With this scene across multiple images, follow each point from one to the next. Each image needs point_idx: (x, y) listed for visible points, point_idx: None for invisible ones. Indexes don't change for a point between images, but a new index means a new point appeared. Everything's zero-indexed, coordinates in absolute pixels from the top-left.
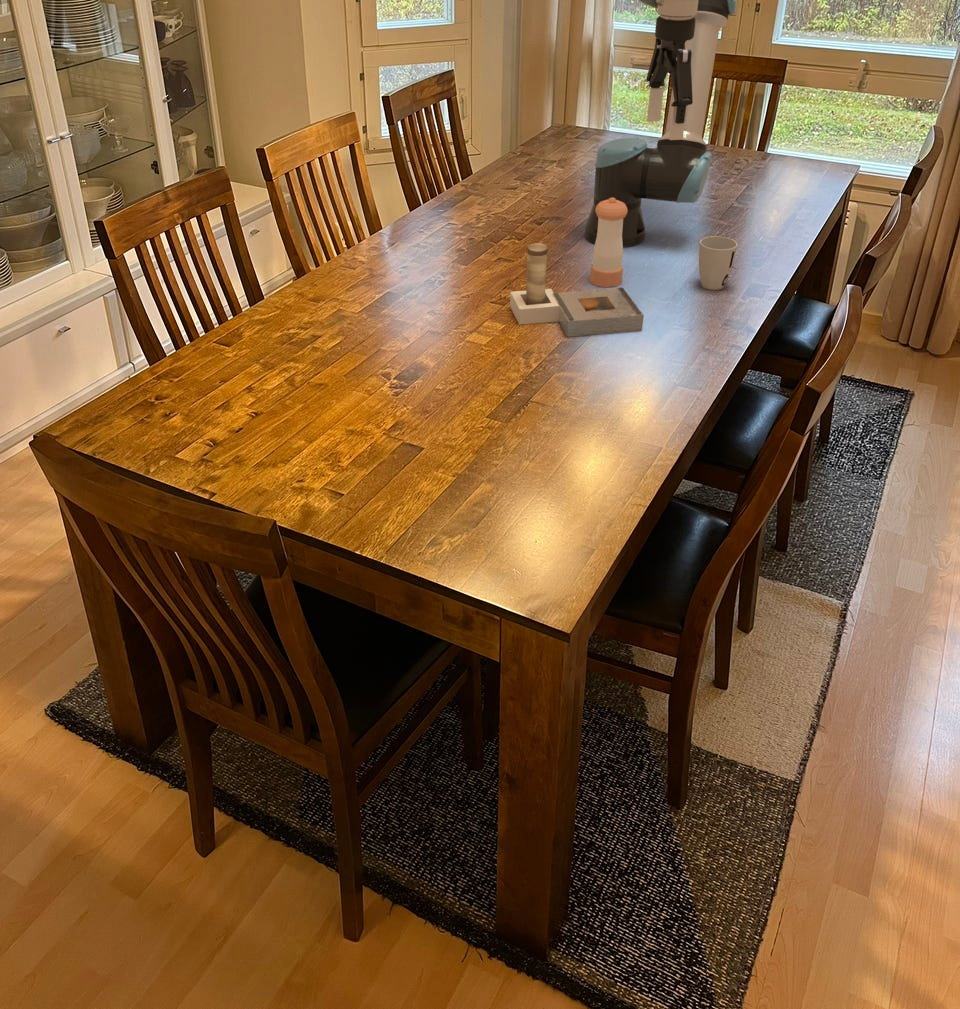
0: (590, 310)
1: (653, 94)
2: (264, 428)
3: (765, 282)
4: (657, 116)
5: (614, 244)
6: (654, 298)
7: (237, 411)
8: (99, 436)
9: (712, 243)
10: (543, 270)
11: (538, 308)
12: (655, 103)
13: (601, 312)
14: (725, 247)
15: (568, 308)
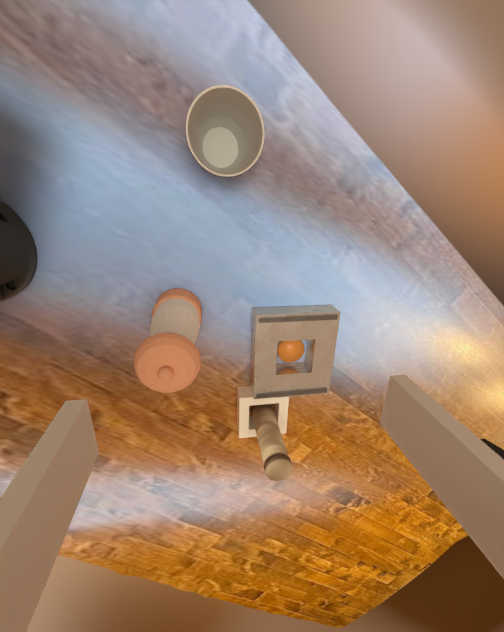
0: (278, 353)
1: (22, 610)
2: (377, 557)
3: (224, 29)
4: (81, 432)
5: (195, 332)
6: (248, 260)
7: (353, 571)
8: (353, 613)
9: (189, 131)
10: (282, 440)
11: (287, 415)
12: (53, 518)
13: (319, 357)
14: (201, 103)
15: (298, 388)
